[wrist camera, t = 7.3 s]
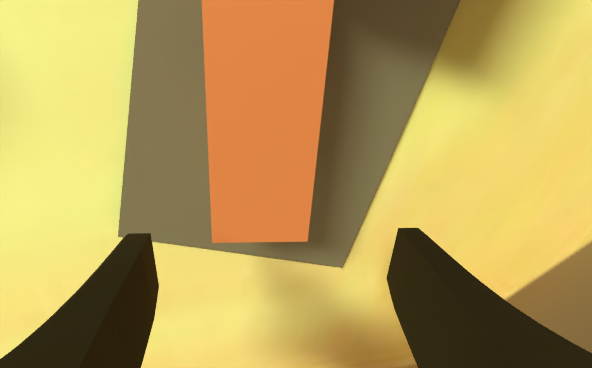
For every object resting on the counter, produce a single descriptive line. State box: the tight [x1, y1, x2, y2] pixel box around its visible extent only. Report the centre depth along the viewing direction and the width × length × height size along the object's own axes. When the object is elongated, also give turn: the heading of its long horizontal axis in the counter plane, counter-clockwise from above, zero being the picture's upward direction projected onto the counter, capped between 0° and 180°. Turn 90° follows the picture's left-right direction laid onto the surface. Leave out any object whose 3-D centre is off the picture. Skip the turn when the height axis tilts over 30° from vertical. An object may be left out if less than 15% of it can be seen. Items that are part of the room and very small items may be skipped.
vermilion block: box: [202, 0, 334, 243], centre depth 17 cm, size 11×4×5 cm, turn 176°
